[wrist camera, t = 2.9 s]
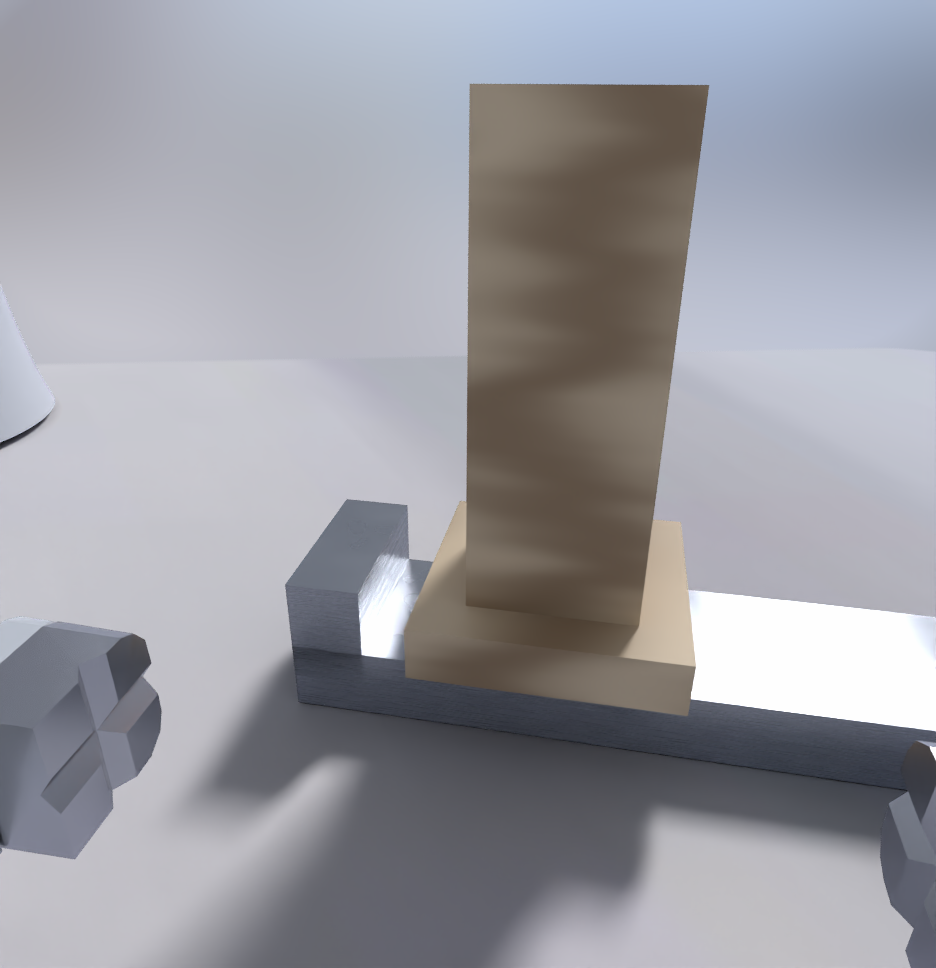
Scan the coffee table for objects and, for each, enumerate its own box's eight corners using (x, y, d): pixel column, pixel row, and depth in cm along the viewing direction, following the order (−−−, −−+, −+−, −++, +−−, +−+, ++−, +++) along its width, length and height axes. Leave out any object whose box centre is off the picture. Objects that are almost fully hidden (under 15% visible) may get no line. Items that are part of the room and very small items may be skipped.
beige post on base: (405, 677, 20) (384, 81, 14) (459, 540, 26) (461, 87, 20) (687, 716, 19) (798, 84, 13) (674, 563, 25) (744, 89, 19)
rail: (298, 701, 22) (285, 585, 21) (354, 602, 27) (346, 499, 25) (1261, 841, 18) (1347, 711, 17) (1139, 697, 23) (1197, 583, 21)
